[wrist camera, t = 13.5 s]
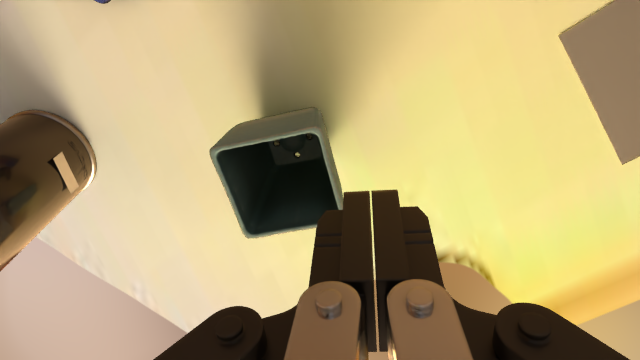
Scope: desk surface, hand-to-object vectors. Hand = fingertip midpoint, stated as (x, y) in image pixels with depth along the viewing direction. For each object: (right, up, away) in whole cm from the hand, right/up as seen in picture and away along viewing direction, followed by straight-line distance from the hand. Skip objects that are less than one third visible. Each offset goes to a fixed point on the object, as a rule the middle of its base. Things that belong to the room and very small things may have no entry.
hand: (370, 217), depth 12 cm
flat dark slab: (+32, +14, +21) cm, 41 cm away
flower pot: (-4, +5, +29) cm, 30 cm away
